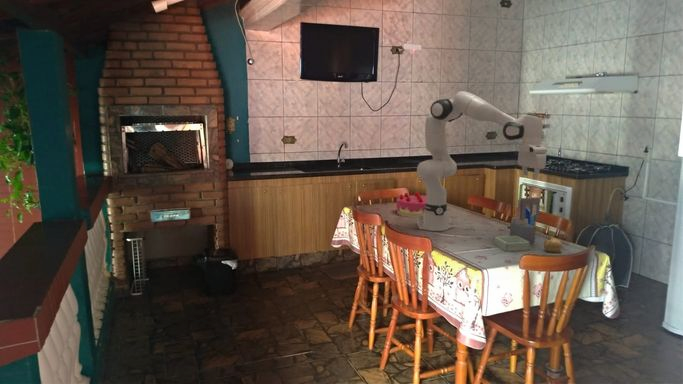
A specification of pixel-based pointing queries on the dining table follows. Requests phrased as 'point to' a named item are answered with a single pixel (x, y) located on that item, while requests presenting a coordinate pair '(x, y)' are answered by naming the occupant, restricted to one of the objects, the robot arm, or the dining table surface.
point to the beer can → (529, 217)
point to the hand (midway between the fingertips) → (530, 176)
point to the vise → (522, 230)
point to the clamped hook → (532, 207)
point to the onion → (552, 245)
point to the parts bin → (511, 243)
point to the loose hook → (529, 201)
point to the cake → (411, 205)
